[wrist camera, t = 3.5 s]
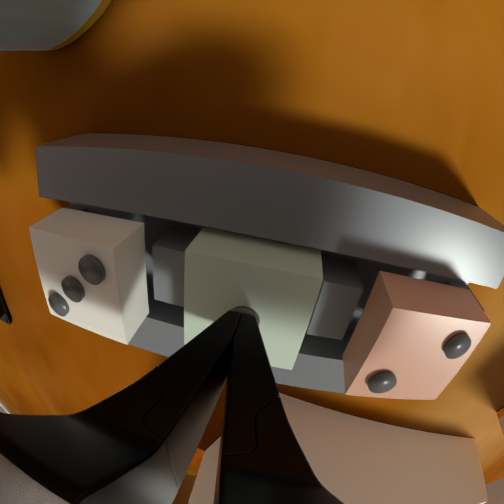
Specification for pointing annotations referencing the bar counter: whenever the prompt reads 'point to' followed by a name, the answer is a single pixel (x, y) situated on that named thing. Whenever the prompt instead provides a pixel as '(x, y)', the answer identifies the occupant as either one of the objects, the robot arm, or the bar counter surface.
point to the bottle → (46, 22)
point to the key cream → (93, 271)
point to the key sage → (252, 287)
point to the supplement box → (501, 418)
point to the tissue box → (371, 460)
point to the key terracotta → (411, 338)
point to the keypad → (272, 227)
